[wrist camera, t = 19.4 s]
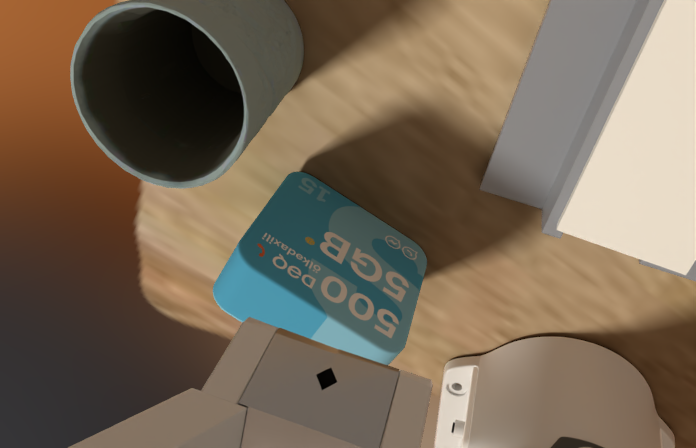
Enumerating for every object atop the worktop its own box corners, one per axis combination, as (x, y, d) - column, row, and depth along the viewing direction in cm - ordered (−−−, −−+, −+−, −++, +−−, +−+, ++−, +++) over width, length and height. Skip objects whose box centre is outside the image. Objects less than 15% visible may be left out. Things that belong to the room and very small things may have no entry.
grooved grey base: (716, 256, 43) (733, 300, 39) (480, 183, 44) (474, 218, 40) (959, -107, 30) (1022, -96, 26) (621, -190, 32) (632, -192, 28)
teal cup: (191, 109, 47) (97, 184, 37) (160, -39, 42) (42, 4, 32) (324, 112, 45) (261, 194, 35) (308, -45, 39) (229, -1, 30)
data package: (431, 251, 48) (402, 361, 38) (399, 288, 51) (364, 400, 41) (295, 163, 47) (230, 253, 37) (270, 205, 50) (202, 300, 40)
